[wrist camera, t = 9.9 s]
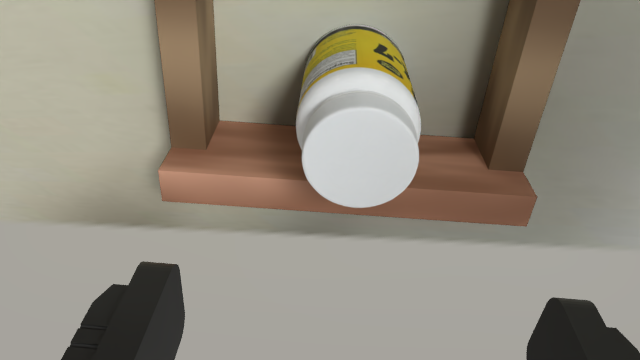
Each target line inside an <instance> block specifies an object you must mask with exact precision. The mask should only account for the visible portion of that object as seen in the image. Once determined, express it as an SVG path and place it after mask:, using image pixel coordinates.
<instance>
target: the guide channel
mask: <svg viewBox="0 0 640 360" xmlns="http://www.w3.org/2000/svg"><path fill="white" fill-rule="evenodd" d="M154 1H155V10H156V19H157V27H158V36H159V45H160V53H161V62H162V70H163V79H164V88H165V96H166V105H167V113H168V122H169V131H170V139H171V149H170V151H169V152H168V154H167V156H166V158H165V159H164V161H163V163H162V165H161V166H160V168H159V170H158V173H159V180H160V188H161V195H162V201H170V202H184V203H198V204H212V205H227V206H241V207H255V208H270V209H284V210H298V211H313V212H327V213H341V214H356V215H370V216H384V217H399V218H413V219H427V220H442V221H456V222H470V223H485V224H499V225H513V226H527V224H528V221H529V218H530V216H531V213H532V210H533V207H534V205H535V202H536V199H537V196H536V194H535V192H534V190H533V189H532V187H531V185H530V183H529V182H528V180H527V178H526V176H525V175H524V173H523V171H524V168H525V165H526V162H527V159H528V156H529V153H530V150H531V147H532V144H533V141H534V138H535V135H536V132H537V129H538V126H539V123H540V120H541V117H542V114H543V111H544V108H545V105H546V102H547V99H548V96H549V93H550V90H551V87H552V84H553V81H554V78H555V75H556V72H557V69H558V66H559V63H560V60H561V57H562V54H563V51H564V48H565V45H566V42H567V39H568V36H569V33H570V30H571V27H572V24H573V21H574V18H575V15H576V12H577V9H578V6H579V3H580V0H510V1H509V5H508V9H507V13H506V17H505V21H504V24H503V28H502V32H501V36H500V40H499V44H498V48H497V51H496V55H495V59H494V63H493V67H492V71H491V75H490V78H489V82H488V86H487V90H486V94H485V98H484V102H483V105H482V109H481V113H480V117H479V121H478V125H477V129H476V132H475V136H474V139H472V138H458V137H444V136H430V135H420V138H419V142H418V148H419V163H418V167H417V171H416V174H415V176H414V178H413V180H412V181H411V183H410V184H409V185H408V187H407V188H406V189H405V190H404V191H403V192H402V193H401V194H399V195H398V196H397V197H395V198H394V199H392V200H390V201H388V202H386V203H383V204H380V205H377V206H373V207H366V208H353V207H346V206H343V205H339V204H336V203H333V202H331V201H329V200H327V199H326V198H324V197H323V196H321V195H320V194H319V193H318V192H317V191H316V190H315V189H314V188H313V187H312V186H311V184H310V183H309V181H308V180H307V178H306V176H305V173H304V170H303V166H302V150H301V148H300V145H299V142H298V139H297V134H296V126H288V125H274V124H259V123H245V122H231V121H219V102H218V84H217V65H216V47H215V28H214V10H213V0H154Z"/></svg>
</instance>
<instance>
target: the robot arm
mask: <svg viewBox="0 0 640 360" xmlns="http://www.w3.org/2000/svg"><path fill="white" fill-rule="evenodd" d="M184 311H185V310H184V303H183V294H182V286H181V277H180V270H179V267H178V265H177V264H165V263H153V262H141V263H140V264H139V265H138V267H137V269H136V271H135V273H134V275H133V277H132V279H131V281H130V283H129V285H116V284H113V285H112V286H111V287H109V288H108V289H107V290H106V291H105V292H104V293H103V294H101V295H100V296H99V297H98V298H97V299H96V300H95V301H94V302H93V303H92V305H91V307H90V308H89V310H88V312H87V314H86V315H85V317H84V319H83V321H82V323H81V327H80V328H79V329H78V330H77V332H76V334H75V335H74V337H73V339H72V341H71V345H70V347H68V348H67V350H66V352H65V353H64V355H63V357H62V359H61V360H174V359H175V356H176V353H177V350H178V347H179V344H180V341H181V338H182V334H183V328H184V320H185V312H184ZM527 360H640V353H639V351H638V350H637V349H636V348H635V347H634V346H633V345H632V344H631V343H630V342H629V341H628V340H627V339H626V338H625V337H624V336H623V335H622V334H621V333H620V332H619V331H618V330H617V329H616V328H609V327H606V325H605V323H604V321H603V319H602V318H601V316H600V314H599V312H598V310H597V308H596V307H595V305H594V304H593V303H592V302H590V301H587V300H576V299H565V298H551V299H550V300H549V301H548V302H547V304H546V306H545V308H544V310H543V312H542V314H541V317H540V319H539V321H538V323H537V325H536V327H535V329H534V331H533V334H532V335H531V338H530V340H529V342H528V346H527Z"/></svg>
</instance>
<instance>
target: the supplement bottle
mask: <svg viewBox="0 0 640 360" xmlns="http://www.w3.org/2000/svg"><path fill="white" fill-rule="evenodd" d="M420 133H421V118H420V111H419V108H418V104H417V101H416V98H415V95H414V91H413V88H412V85H411V82H410V78H409V75H408V72H407V69H406V65H405V62H404V58H403V56H402V54H401V52H400V50H399V48H398V47H397V45H396V44H395V43H394V42H393V40H392V39H391V38H390V37H388V36H387V35H386V34H385V33H383V32H382V31H380V30H378V29H376V28H373V27H370V26H366V25H357V24H356V25H346V26H342V27H339V28H336V29H334V30H332V31H330V32H328V33H327V34H325V35H324V36H323V37H322V38H321V39H320V40H319V41H318V42H317V43H316V44H315V45H314V47H313V48H312V50H311V52H310V54H309V56H308V59H307V62H306V66H305V71H304V77H303V82H302V87H301V93H300V99H299V105H298V110H297V115H296V134H297V139H298V142H299V145H300V148H301V150H302V166H303V170H304V173H305V176H306V178H307V180H308V181H309V183H310V184H311V186H312V187H313V188H314V189H315V190H316V191H317V192H318V193H319V194H320V195H321V196H323V197H324V198H326V199H327V200H329V201H331V202H333V203H336V204H339V205H343V206H346V207H353V208H366V207H373V206H377V205H380V204H383V203H386V202H388V201H390V200H392V199H394V198H395V197H397V196H398V195H399V194H401V193H402V192H403V191H404V190H405V189H406V188H407V187H408V185H409V184H410V183H411V181H412V180H413V178H414V176H415V174H416V171H417V167H418V163H419V148H418V142H419V138H420Z"/></svg>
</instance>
